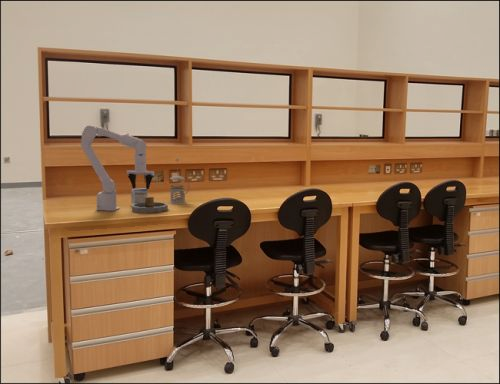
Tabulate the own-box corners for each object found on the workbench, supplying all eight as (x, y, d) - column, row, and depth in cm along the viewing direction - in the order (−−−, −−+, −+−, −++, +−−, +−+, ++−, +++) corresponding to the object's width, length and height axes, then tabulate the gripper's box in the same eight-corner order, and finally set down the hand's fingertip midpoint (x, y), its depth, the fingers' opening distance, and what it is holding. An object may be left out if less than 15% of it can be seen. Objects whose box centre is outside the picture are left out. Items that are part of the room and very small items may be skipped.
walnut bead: (143, 209, 252) (143, 197, 251) (147, 207, 256) (147, 196, 255) (151, 209, 251) (151, 198, 250) (155, 208, 255) (155, 196, 254)
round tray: (125, 211, 247) (125, 206, 246) (140, 205, 264) (140, 201, 264) (159, 213, 243) (159, 208, 243) (172, 207, 260) (172, 202, 260)
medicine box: (134, 205, 265) (133, 189, 264) (131, 204, 269) (130, 188, 268) (147, 204, 270) (147, 188, 269) (144, 203, 274) (144, 187, 272)
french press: (167, 201, 280) (167, 157, 276) (188, 200, 283) (187, 157, 279) (169, 204, 270) (169, 159, 267) (190, 203, 273) (190, 159, 270)
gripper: (123, 162, 252) (124, 189, 254) (150, 163, 249) (150, 190, 251) (130, 161, 259) (130, 187, 261) (155, 162, 256) (156, 188, 258)
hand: (140, 188), depth 256 cm, fingers open, 7 cm apart
